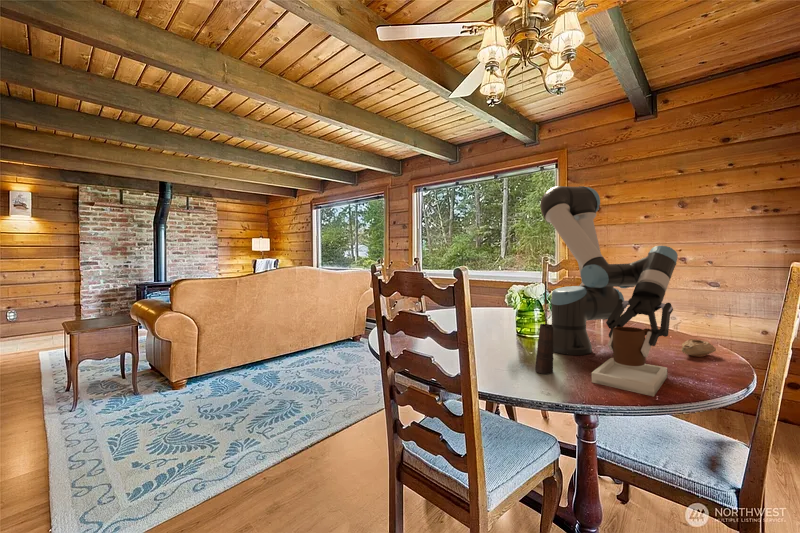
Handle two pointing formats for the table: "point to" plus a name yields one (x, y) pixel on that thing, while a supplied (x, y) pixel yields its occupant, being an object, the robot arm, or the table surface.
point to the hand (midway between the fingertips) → (626, 350)
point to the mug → (629, 345)
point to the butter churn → (545, 345)
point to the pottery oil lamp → (697, 347)
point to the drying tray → (630, 377)
